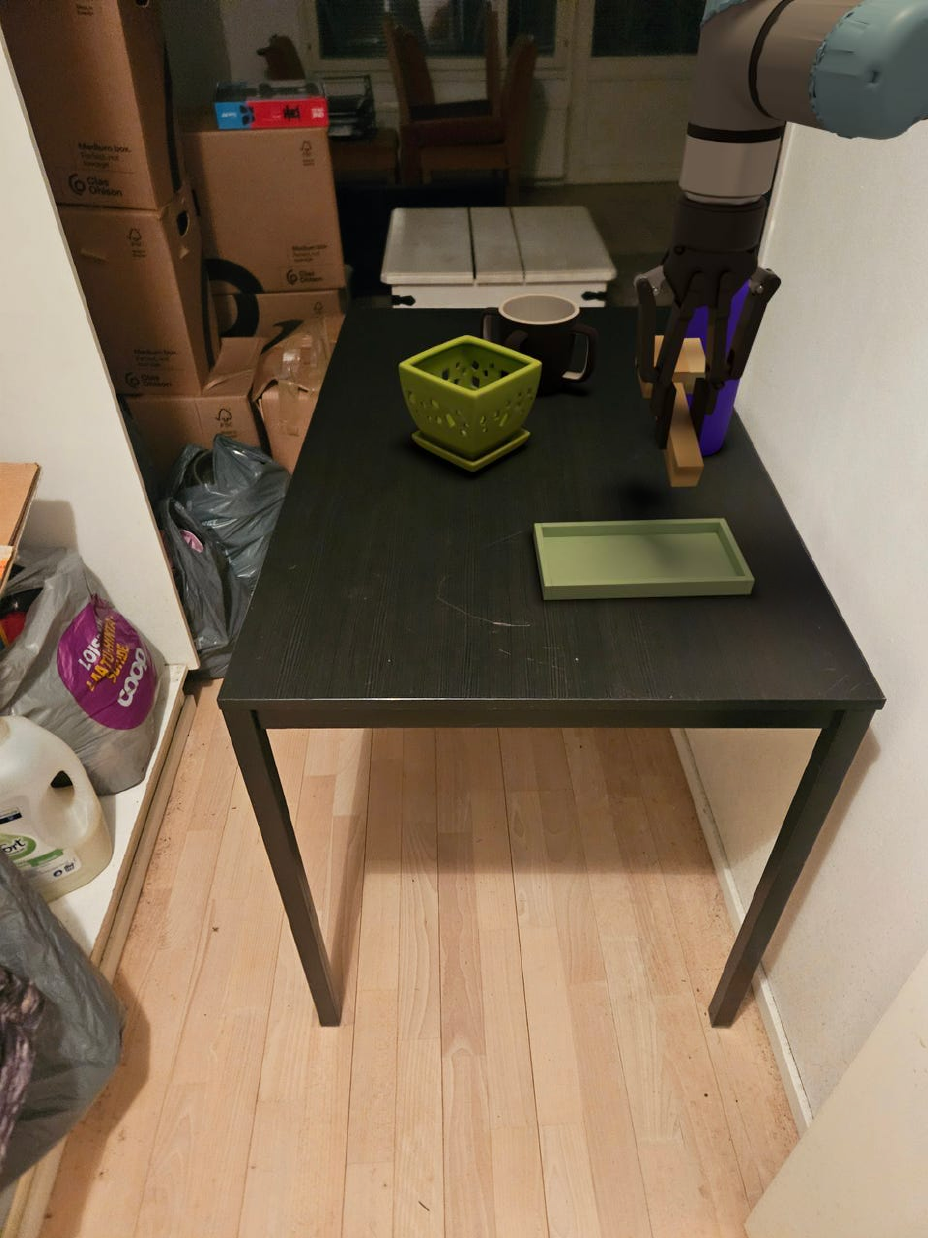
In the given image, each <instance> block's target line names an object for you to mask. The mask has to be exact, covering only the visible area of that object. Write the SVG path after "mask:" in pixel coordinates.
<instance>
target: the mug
mask: <svg viewBox="0 0 928 1238" xmlns="http://www.w3.org/2000/svg"><path fill="white" fill-rule="evenodd" d="M580 311H581V310H580V306H579V305H578V304H577V303H576V302H575V301H573V300H571V299H569V298H567V297H564V296H560V295H557V294H549V293H525V294H520V295H515V296H512V297H509V298H507V299H505V300H503V301H501V302H500V304H499V305H498V307H495V306H487V307H486V308H484V309H483V310H482V311H481V314H480V317H479V339H482V340H485V341H488V342H491V343H492V338H491V336H492V335H491V330H492V329H491V328H492V327H491V325H492V317H496V318H497V332H498V333H497V334H498V345H499V346H502V347H505V348H508V349H511V350H513V351H516V352H518V353H521V354H524V355H526V356H529V357H531V358H534V359H536V360H538V361H540V362H541V363H542V369H541V376H540V381H539V385H538V389H537V393H536V395H542V394H543V395H544V394H549V393H552V392H554V391H557V390H558V389H560V388H561V387H562V386H563V385H564V383H565V382H568V383H573V384H582V383H584V382H586V381H587V380H589V379H590V377H591V376H592V374H593V372H594V370H595V368H596V366H597V365H596V364H597V359H598V353H599V344H600V343H599V342H600V341H599V340H600V336H599V333H598V331H597V329H596V328H595V327H592V326H589V325H586V324H583V323H580V314H581V313H580ZM578 335H582V336H586V340H587V345H586V355H585V363H584V367H583V370H582V371H581V372H573V371H570V367H571V364H572V360H573V357H574V351H575V348H576V342H577V336H578ZM502 374H503V378H504V377H506V376H508V375H509V373H508V372H506V371H503V370H502Z"/></svg>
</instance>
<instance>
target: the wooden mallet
mask: <svg viewBox="0 0 928 1238" xmlns="http://www.w3.org/2000/svg"><path fill="white" fill-rule="evenodd" d="M663 338H664V335H655V354H654V366H655V365H656V362H657V358H658V355H659V351H660V348H661V345H662V341H663ZM636 360H637V355H636V357H635V361H634V364H636ZM704 371H705V355H704V352H703V348H702V345H701V342H700V338H685V339H684V342H683V345H682V348H681V352H680V355H679V358H678V361H677V364H676V368H675V371H674V374H673V377H672V382H673V383H674V385H675V387H676V389H677V393H676V398H675V404H674V409H673V415H672V420H671V426H670V431H669V436H668V441H667V447H666V449H662V452H663V457H664V461H665V465H666V469H667V473H668V477H669V482H670V487H672V488H674V487H675V488H681V487H682V488H683V487H697V485H698V483H699V480H700V478H701V475H702V472H703V470H704V467H705V464H704V461H703V456H701V453H700V449H699V445H698V442H697V438H696V434H695V430H694V426H693V422H692V419H691V415H690V411H689V407H688V403H687V400H686V396H685V394H693V390H694V385H695V380H696V378H698V377H703V378H704V379H705V373H704ZM636 372H637V371H636ZM637 376H638V377H637V378H638V381H639V386H640V391H641V396H642V399H651V393H652V387H653V384H652V383H644V382H642V380H641V378H640V376H639V374H638V372H637ZM656 419H657V417H655V420H656Z"/></svg>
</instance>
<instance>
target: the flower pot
mask: <svg viewBox="0 0 928 1238" xmlns="http://www.w3.org/2000/svg"><path fill="white" fill-rule="evenodd" d="M475 362H476V363H477V364H478V368H477V369H475V368H474V367H473V364H474V363H475ZM492 365H493V366H492ZM541 369H542V363H541V362H540V361H538V360H536V359H534V358H531V357H529V356H526V355H524V354H521V353H518V352H516V351H513V350H511V349H508V348H505V347H502V346H499V344H496V343H494V342H492V341H491V342H488V341H485V340H482V339H480V337H476V336H473V335H469V334H465V335H463V336H459V337H456V338H453V339H451V340H449V341H446V342H444V343H442V344H438V345H436V346H433V347H432V348H428V349H427V350H425V351H423V352H419V353H418V354H416V355H413V356H411V357H409V358H407V359H405V360H403V361H402V362H400V363H399V365H398V374H399V381H400V385H401V389H402V390H401V391H402V392H403V393H402V394H403V397H404V401H405V403H406V407H407V409H408V411H409V415H410V416H411V417H412V418H411V419H413V422H414V424H415V425H416V426H417V428H418V430H417V431H415V432H414V433H412V434H411V438H412V440H413V441H414V442H415V443H416V444H417V445H418V446H419V447H421V448H423V449H425V450H426V451H428V452H430V453H432V454H434V455H435V456H438V457H440V458H442V459H443V460H446V461H448V462H450V463H452V464H454V465H455V466H458V467H459V468H461V469H464V470H466V471H468V472H471V473H475V472H477V471H478V470H479V471H480V469H483V468H485V467H486V466H488V465H489V464H491V463H493V462H494V461H496V460H497V459H500V458H503V456H505V455H507V454H509V453H510V452H512V451H514V450H516V449H518V448H519V447H520V446H522V445H523V444H524V443H525V442H526V441H527V440H528V439H529V437H530V435H531V433H530V432H529V431H528V430H526V429H524V428H522V426H523V424H524V423H525V421H526V419H527V417H528V415H529V414H530V412H531V409H532V407H533V404H534V402H535V399H536V397H537V394H536V393H537V389H538V385H539V381H540V376H541ZM503 371H506V372H508V373H509V375H508V376H506V377H504V376H503V377H502V372H503ZM444 372H447V376H448V377H447V378H448V379H447V380H446V379H443V373H444ZM486 372H487V376H486ZM474 378H476V379H478V380H479V383H478V387H477V386H475V385H473V384H474ZM455 380H457V383H455Z"/></svg>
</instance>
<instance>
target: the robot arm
mask: <svg viewBox="0 0 928 1238" xmlns="http://www.w3.org/2000/svg"><path fill="white" fill-rule="evenodd" d="M699 24H700V25H699V31H700V34H699V42H698V49H697V56H696V63H695V70H694V76H693V77H694V78H693V83H692V91H691V98H690V105H689V110H688V118H687V127H686V128H687V129H686V134H685V135H686V136H685V139H684V140H685V141H684V147H683V153H682V159H681V164H680V170H679V171H680V172H679V177H678V187H680V189H681V190H682V191H681V192H680V193H679V194H678V195H677V196H676V198H675V202H674V208H673V209H674V210H673V216H672V223H671V229H670V236H669V244H668V248H667V250H666V252H665V254H664V255H663V257H662V258H661V260H660V264H659V266H657V267H654V268H652V269H650V270H649V271H647V272H645V273H644V272H642V271H637V272H635V273H634V274H633V275H632V278H631V282H632V284H633V287H634V290H635V292H636V293H635V294H636V296H637V323H636V324H637V328H636V356H637V360H636V359H635V360H636V363H635V368H636V372H638V373H637V375H638V374H639V376H640V378H641V380H642V382H644V383H652V384H653V387H652V393H651V398H649V399H650V400H649V410H650V413H651V414H652V417H653V418H655V427H654V432H653V439H654V441H655V444H656V445H657V448H658V450H663V449H666V447H667V441H668V436H669V431H670V426H671V420H672V415H673V409H674V404H675V398H676V393H677V389H676V387H675V385H674V383H673V382H672V377H673V374H674V371H675V368H676V364H677V361H678V358H679V355H680V352H681V348H682V345H683V342H684V339H685V335H686V332H687V329H688V326H689V323H690V321H691V320H692V319H693V316H694V313H695V310H696V308H700V307H703V306H706V307H708V325H707V340H706V356H705V371H704V373H705V379H704V378H703V377H698V378H696V380H695V385H694V390H693V395H692V400H691V405H690V410H689V411H690V415H691V419H692V422H693V426H694V430H695V434H696V438H697V442H698V445H699V441H700V437H701V432H702V427H703V422H704V417H705V415H712V414H713V413H714V411H715V408H716V403H717V398H718V394H719V391H720V390H722V389H723V388H724V387H725V383H724V382H726V381H729V380H734V381H736V380H739V379H740V380H741V379H742V377H743V375H744V372H745V369H746V367H747V364H748V361H749V359H750V356H751V352H752V349H753V347H754V344H755V342H756V338H757V335H758V334H759V333H758V332H759V329H760V326H761V324H762V321H763V318H764V315H765V312H766V309H767V307H768V304H769V302H770V301H771V299H772V298H773V297H774V296H775V294H776V293H777V291H778V290H779V289H780V287H781V286H782V279H781V278H780V277H779V275H777V274H776V273H775V272H774V271H773V270H772V268H769V267H767V268H763V267H762V266H760V265H759V259H758V256H757V246H758V243H759V240H760V237H761V236H760V235H761V232H762V227H763V222H764V218H765V213H766V210H767V209H766V208H767V204H768V203H767V200H766V198H765V196H763V195H765V194H766V193H768V191H770V189H771V188H772V182H773V178H774V174H775V168H776V164H777V159H778V154H779V150H780V145H781V140H782V136H783V133H784V129H785V124H786V123H785V122H788V123H792V124H796V125H801V126H804V127H809V128H813V129H817V130H821V131H825V132H828V133H831V134H836V135H837V136H838V137H840V138H843V139H849V140H852V139H857V138H861V139H868V140H869V139H870V140H875V141H876V140H877V141H885V140H890V139H894V138H895V139H896V138H897V137H900V136H902V135H903V134H905V133H906V132H908V130H909V129H910V128H911V127H913V126H914V125H916V124H917V123H919V122H921V121H927V120H928V0H706V3H705V8H704V13H703V17H702V19H701V22H700V23H699ZM749 279H750V281H749V283H748V288H749V291H748V293H747V295H746V298H745V301H744V304H743V307H742V310H741V313H740V316H739V319H738V322H737V325H736V328H735V331H734V334H733V338H732V341H731V344H730V347H729V350H728V353H727V356H726V359H725V354H726V342H727V329H728V319H729V317H730V314H731V302H732V298H733V297H734V295H735V294H736V293H737V292H738V291H739V290H740V289H741V288H742V287H743V285H744V284H745V283H746V282H747V281H748V280H749ZM664 281H666V283H667V285H668V286H669V288H670V290H671V292H672V294H673V298H672V301H671V307H670V309H671V310H670V314H669V317H668V320H667V324H666V328H665V332H664V335H663V336H664V338H663V341H662V345H661V348H660V351H659V355H658V358H657V362H656V365H655V366H654V354H655V336H656V330H657V300H656V297H657V296H659V294H660V293H661V289H662V288H661V287H662V283H663V282H664ZM656 417H657V419H656Z"/></svg>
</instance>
